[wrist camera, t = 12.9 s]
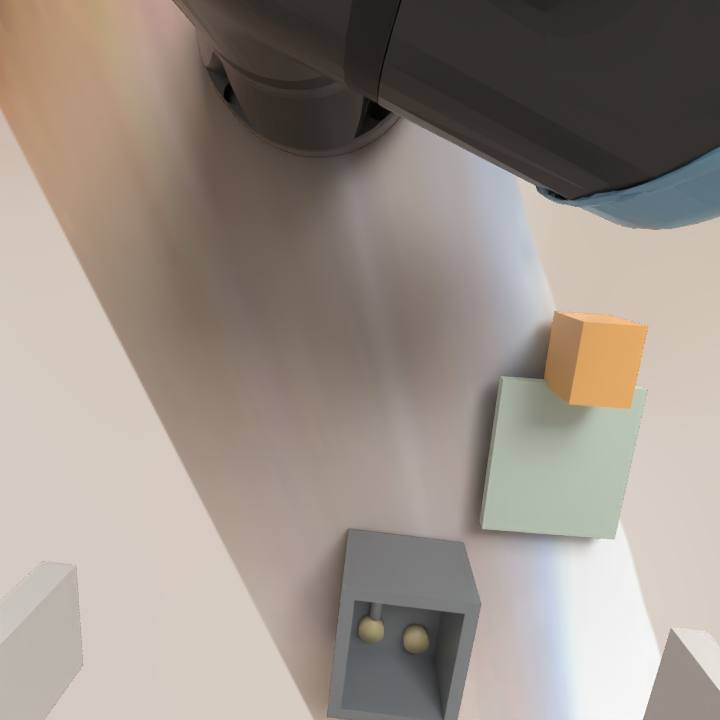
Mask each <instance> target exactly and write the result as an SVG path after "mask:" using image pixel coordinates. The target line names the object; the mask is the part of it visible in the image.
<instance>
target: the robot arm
mask: <svg viewBox="0 0 720 720" xmlns="http://www.w3.org/2000/svg"><path fill="white" fill-rule="evenodd" d="M173 2H174V3H175V4H176V5H177V6H178V7H179V9H180V10H181V11H182V12H183V13H184V14H185V16H186V17H187V18H188V19H189V20H190V21H191V23H192V24H193V25H194V26H195V29H196V35H197V41H198V46H199V50H200V54H201V57H202V60H203V63H204V66H205V68H206V71H207V73H208V76H209V78H210V80H211V82H212V84H213V86H214V88H215V89H216V91H217V93H218V94H219V96H220V98H221V99H222V100H223V102H224V103H225V105H226V106H227V107H228V108H229V110H230V111H231V112H232V113H233V114H234V115H235V116H236V117H237V118H238V119H239V120H240V121H241V122H242V123H243V124H244V125H245V126H246V127H247V128H248V129H249V130H250V131H252V132H253V133H254V134H255V135H257V136H258V137H259V138H261V139H262V140H264V141H265V142H267V143H269V144H270V145H272V146H274V147H276V148H278V149H281V150H283V151H286V152H289V153H292V154H296V155H301V156H308V157H330V156H336V155H341V154H345V153H349V152H351V151H354V150H357V149H359V148H361V147H363V146H365V145H367V144H369V143H371V142H372V141H374V140H375V139H377V138H378V137H380V136H381V135H382V134H383V133H385V132H386V131H387V130H388V129H389V128H390V127H391V126H392V125H393V124H394V123H395V122H396V121H397V120H398V119H399V117H400V116H401V117H403V118H405V119H407V120H409V121H411V122H413V123H415V124H417V125H419V126H420V127H422V128H424V129H426V130H428V131H430V132H432V133H434V134H436V135H438V136H440V137H442V138H444V139H446V140H448V141H450V142H452V143H454V144H456V145H458V146H459V147H461V148H463V149H465V150H467V151H469V152H471V153H473V154H475V155H477V156H479V157H481V158H483V159H485V160H487V161H489V162H491V163H493V164H495V165H497V166H498V167H500V168H502V169H504V170H506V171H508V172H510V173H512V174H514V175H516V176H518V177H520V178H522V179H524V180H526V181H528V182H530V183H532V184H534V185H536V188H537V191H538V192H539V193H540V194H542V195H543V196H545V197H546V198H548V199H550V200H551V201H553V202H556V203H559V204H567V205H571V206H575V207H580V208H582V209H585V210H587V211H589V212H591V213H593V214H596V215H598V216H600V217H602V218H604V219H607V220H609V221H611V222H613V223H616V224H618V225H621V226H624V227H629V228H642V229H652V230H659V229H673V228H678V227H683V226H687V225H692V224H697V223H700V222H704V221H707V220H710V219H714V218H716V217H719V216H720V0H173ZM76 571H77V570H76V565H72V564H61V563H53V562H41V563H40V564H39V565H38V566H37V567H36V568H35V569H34V570H33V571H31V572H30V573H29V574H28V575H27V576H26V577H25V578H24V579H23V580H22V581H21V582H20V583H19V584H18V585H16V586H15V587H14V588H13V589H12V590H11V591H10V592H9V593H8V594H7V595H6V596H5V597H4V598H3V599H1V601H0V720H45V718H46V717H47V715H48V714H49V713H50V711H51V710H52V708H53V707H54V706H55V704H56V703H57V701H58V700H59V698H60V697H61V696H62V694H63V693H64V691H65V690H66V689H67V687H68V686H69V684H70V683H71V681H72V680H73V679H74V677H75V676H76V675H77V673H78V672H79V670H80V669H81V667H82V666H83V655H82V641H81V626H80V612H79V599H78V584H77V572H76ZM643 720H720V646H719V645H718V644H717V643H716V641H715V640H714V639H713V638H712V637H711V636H710V634H709V633H708V632H707V631H701V630H691V629H681V628H671V629H670V633H669V636H668V639H667V643H666V646H665V649H664V652H663V656H662V659H661V662H660V666H659V669H658V672H657V675H656V679H655V682H654V685H653V689H652V692H651V695H650V699H649V702H648V705H647V708H646V712H645V715H644V718H643Z"/></svg>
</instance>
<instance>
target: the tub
mask: <svg viewBox="0 0 720 720" xmlns="http://www.w3.org/2000/svg"><path fill="white" fill-rule="evenodd" d="M480 608H481V601H480V598H479V594H478V591H477V587H476V584H475V580H474V577H473V573H472V570H471V566H470V563H469V559H468V556H467V552H466V549H465V545H464V543H460V542H452V541H444V540H436V539H427V538H419V537H411V536H403V535H395V534H386V533H378V532H370V531H362V530H354V529H349V530H348V538H347V547H346V555H345V563H344V572H343V580H342V589H341V597H340V605H339V614H338V622H337V631H336V639H335V648H334V657H333V666H332V675H331V684H330V693H329V702H328V711H327V717H330V718H338V719H346V720H457V719H458V714H459V709H460V705H461V700H462V695H463V690H464V685H465V680H466V676H467V671H468V666H469V661H470V656H471V651H472V647H473V642H474V637H475V632H476V627H477V622H478V618H479V613H480Z"/></svg>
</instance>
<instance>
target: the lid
mask: <svg viewBox="0 0 720 720" xmlns="http://www.w3.org/2000/svg"><path fill="white" fill-rule="evenodd" d="M647 329H648V326H646V325H642V324H639V323H635V322H632V321H628V320H625V319H621V318H618V317H614V316H611V315H602V314H587V313H571V312H557V311H554V318H553V324H552V330H551V336H550V342H549V348H548V354H547V360H546V366H545V372H544V378H543V379H535V378H521V377H507V376H500V379H499V386H498V393H497V400H496V407H495V415H494V422H493V429H492V436H491V443H490V450H489V457H488V464H487V471H486V478H485V486H484V493H483V500H482V507H481V514H480V521H479V522H480V525H481V528H482V529H488V530H501V531H514V532H526V533H539V534H552V535H564V536H577V537H590V538H602V539H615V535H616V530H617V526H618V521H619V517H620V512H621V508H622V503H623V499H624V494H625V489H626V485H627V481H628V476H629V472H630V467H631V463H632V457H633V453H634V449H635V445H636V440H637V436H638V431H639V427H640V422H641V418H642V413H643V409H644V404H645V400H646V395H647V391H648V390H647V389H645V388H643V387H641V386H635V385H636V381H637V376H638V371H639V367H640V362H641V357H642V353H643V348H644V343H645V339H646V334H647Z"/></svg>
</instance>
